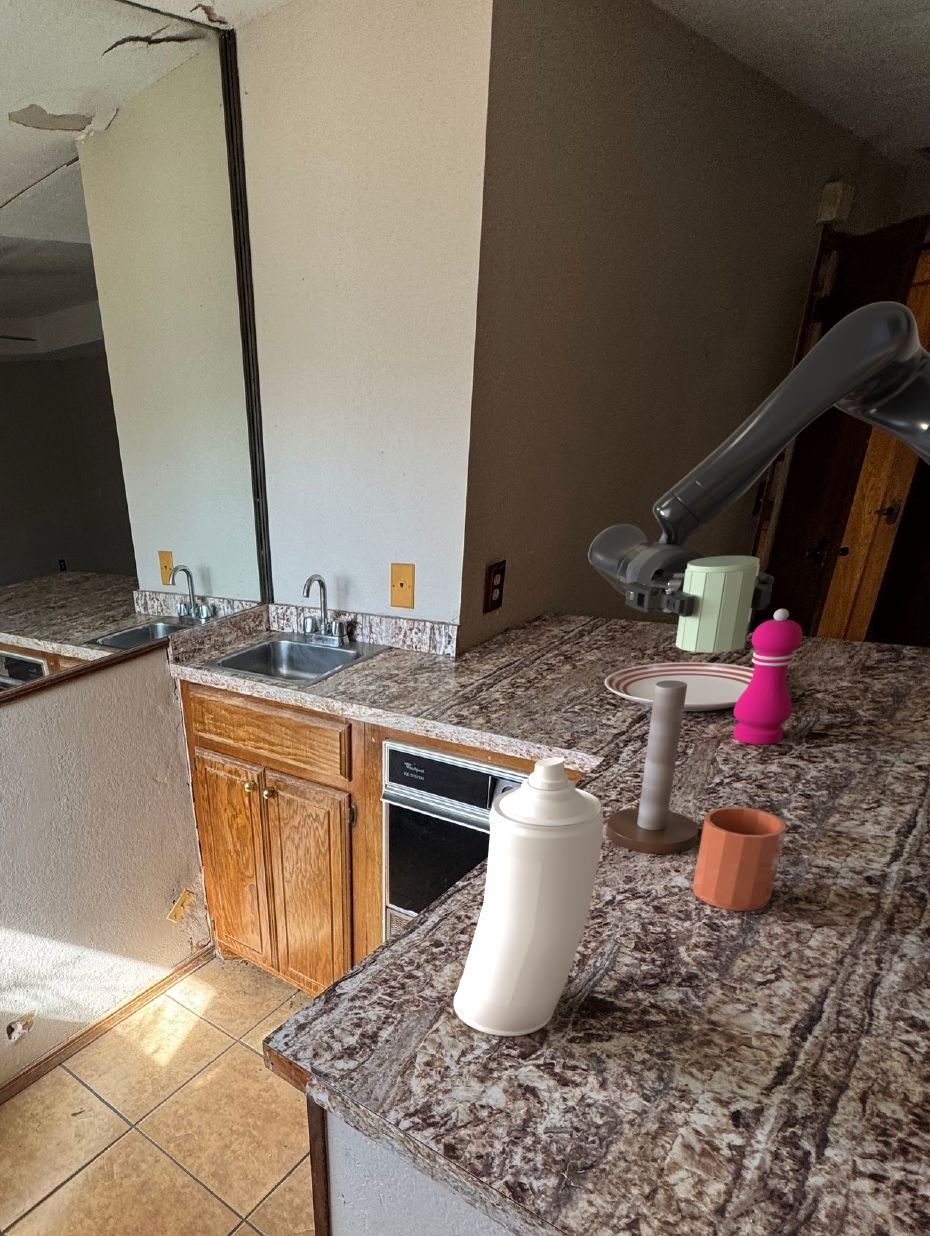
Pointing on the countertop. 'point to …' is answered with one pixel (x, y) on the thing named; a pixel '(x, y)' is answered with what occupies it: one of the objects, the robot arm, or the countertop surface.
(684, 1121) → the countertop surface
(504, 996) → the spray can
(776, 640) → the pepper mill
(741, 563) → the cup
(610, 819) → the towel holder
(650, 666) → the dinner plate
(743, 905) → the cup
